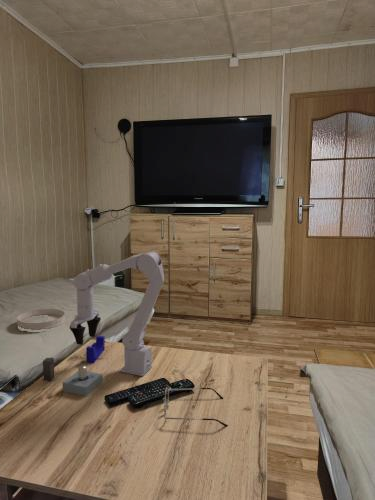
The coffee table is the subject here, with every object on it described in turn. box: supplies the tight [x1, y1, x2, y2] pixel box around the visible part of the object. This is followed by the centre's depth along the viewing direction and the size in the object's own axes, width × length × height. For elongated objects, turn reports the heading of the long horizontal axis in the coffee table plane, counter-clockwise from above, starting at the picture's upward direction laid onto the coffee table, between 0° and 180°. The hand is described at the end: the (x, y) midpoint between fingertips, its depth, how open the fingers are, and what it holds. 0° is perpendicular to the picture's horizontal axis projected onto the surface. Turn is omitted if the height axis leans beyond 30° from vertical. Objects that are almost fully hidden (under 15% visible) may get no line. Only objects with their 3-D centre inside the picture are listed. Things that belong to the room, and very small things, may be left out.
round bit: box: [77, 364, 87, 381], centre depth 112 cm, size 3×3×7 cm
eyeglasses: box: [162, 387, 229, 427], centre depth 100 cm, size 16×19×5 cm
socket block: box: [62, 370, 103, 397], centre depth 112 cm, size 9×9×3 cm
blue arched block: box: [85, 335, 106, 364], centre depth 135 cm, size 12×4×6 cm, turn 175°
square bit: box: [42, 357, 55, 382], centre depth 116 cm, size 3×3×7 cm
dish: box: [16, 308, 66, 330], centre depth 168 cm, size 22×22×5 cm
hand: (86, 340), depth 126 cm, fingers open, 7 cm apart
